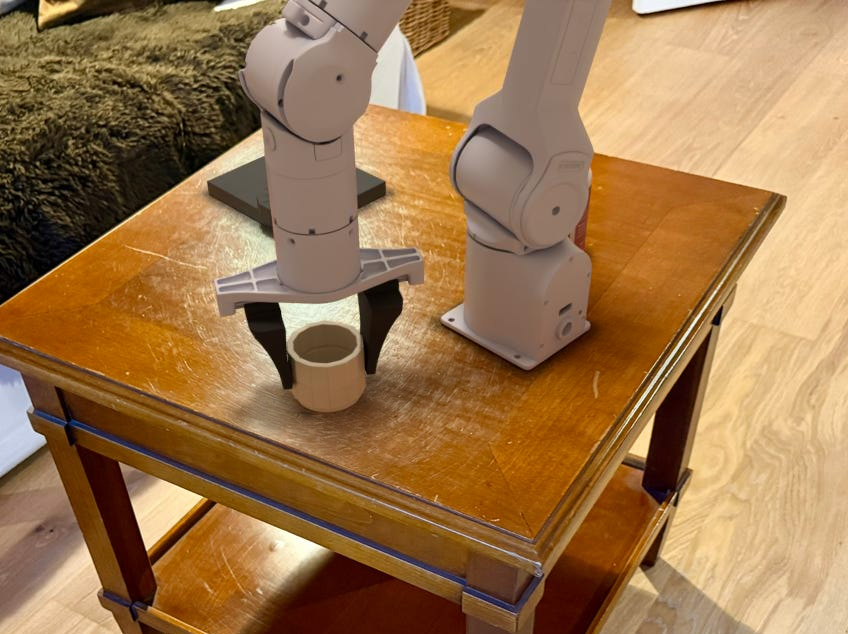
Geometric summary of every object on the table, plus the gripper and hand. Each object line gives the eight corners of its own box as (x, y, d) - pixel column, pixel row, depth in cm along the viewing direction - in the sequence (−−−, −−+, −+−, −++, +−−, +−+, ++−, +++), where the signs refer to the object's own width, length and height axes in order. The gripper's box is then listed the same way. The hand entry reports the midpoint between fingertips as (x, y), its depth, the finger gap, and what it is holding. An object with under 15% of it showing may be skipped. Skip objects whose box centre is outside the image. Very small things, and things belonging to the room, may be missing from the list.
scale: (389, 195, 99) (389, 167, 97) (288, 247, 93) (285, 218, 91) (300, 152, 106) (297, 125, 104) (200, 197, 100) (196, 169, 98)
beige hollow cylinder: (381, 389, 77) (379, 342, 74) (325, 425, 74) (320, 377, 71) (332, 358, 80) (328, 311, 77) (276, 391, 77) (270, 344, 74)
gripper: (405, 169, 71) (407, 327, 80) (198, 200, 69) (225, 358, 78) (433, 219, 66) (432, 381, 75) (211, 253, 64) (237, 416, 73)
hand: (328, 374), depth 76 cm, fingers closed on beige hollow cylinder, 6 cm apart
